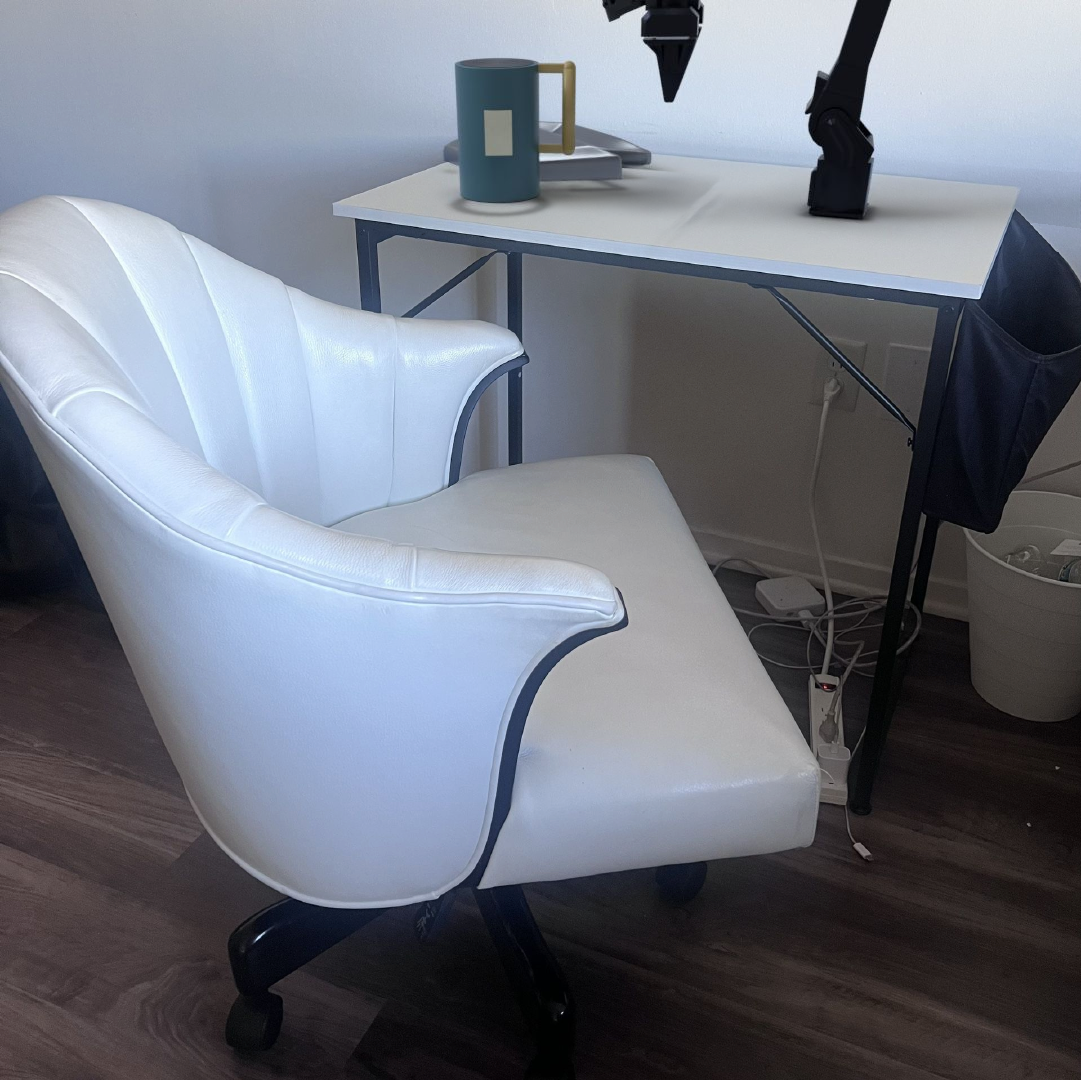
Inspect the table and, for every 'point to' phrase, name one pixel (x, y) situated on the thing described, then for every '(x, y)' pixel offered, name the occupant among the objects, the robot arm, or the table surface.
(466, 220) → the table surface
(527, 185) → the teal coffee mug
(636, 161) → the emblem
